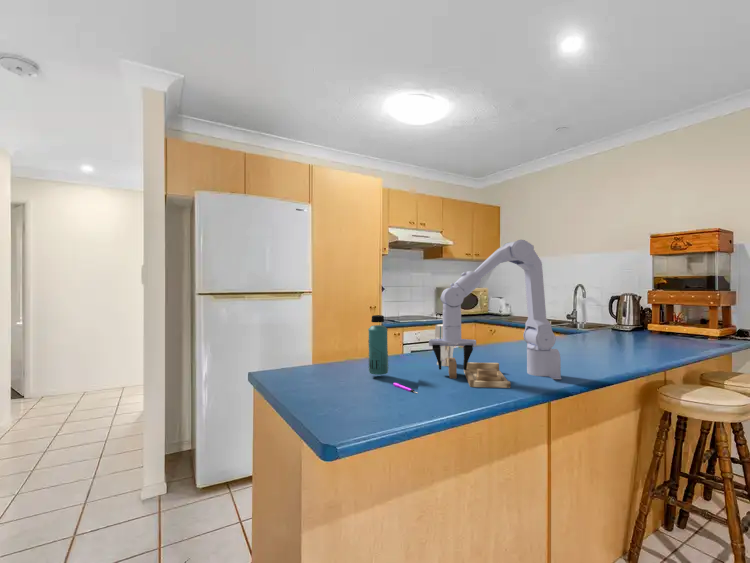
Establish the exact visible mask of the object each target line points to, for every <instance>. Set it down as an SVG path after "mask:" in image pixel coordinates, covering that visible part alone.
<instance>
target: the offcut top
mask: <svg viewBox="0 0 750 563" xmlns="http://www.w3.org/2000/svg"><path fill="white" fill-rule="evenodd" d="M477 376H478V377H497V370H496V369H477Z"/></svg>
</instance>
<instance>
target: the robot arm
mask: <svg viewBox="0 0 750 563" xmlns="http://www.w3.org/2000/svg"><path fill="white" fill-rule="evenodd" d="M508 262H510V263H511V264H516V265H517V266H518V267H520V268H521V269H522V270H523V271H524V284H525V296H526V310H527V319H526V321H525V323H524V324H525V327H524V332H523V339H524V341H525V343H526V344H527V345H526V373H527V374H528V375H530V376H533V377H534V376H535V377H550V378H551V379H552V380H562V377H561V375H562V374H561V373H562V370H561V368H562V367H561V354H560V351H559V350H558V349H557V348H553V347H554V345H555V344H556V335H555V333H554V332H553V329H552V324H551V323H550V321H549V320H548V318H547V311H546V298H545V297H546V296H545V287H544V286H545V285H544V284H545V283H544V274H543V262H542V260H541V258H540V256H538V253H537V252H536V250H535V247H534V245H533V244H532V243H531V242H528V241H527V240H526V239H518V240H517V239H516V240H515V241H509V242H507V243H504V244H503V245H502V246H500V247H498V248H497V249H496V250H495V251H494V252H493V253H491V254H490V255H489V256H488V257H487V258H486V259H485V260H484V261H483V262H482V263H481V264H480V265H479V266H478V267H476V269H475V270H474V271H473V270H467V271H464V272H462V273H461V274H460V277H459V278H458V279H457V280H456V281H455V282H454V283H453V282H451V283H450V284H449V286H450V287H447V288H445V289H444V290H443V291H442V292H441V295H440V301H441V303H442V324H443V339H435V338H432V339H431V338H429V339H428V346H429V347H432V350H433V353H434V356H435V357H436V361H438V365H437V366H438V370H442V366H441V349H440V346H454V347H463V363H462V364H463V366H462V367H463V371H464V370H466V369H467V363H468V362H469V360H470V358H471V355H472V353H473V351H474V347H475V348H476V347H477V340H476V339H469V338H468V339H467V338H462V309H461V308H462V306H461V305H462V304H463V302H464V300H465V298H467V297H468V295H470V294H471V293H472V292H474V291H475V290H476V289H477V288H478V287H479V286H480V285H481V284H482V283H481V282H482V281H481V280H482V278H484V277H485V276H486V275H488V274H489V273H490V272H491V271H492V270H493V269H495V268H497V267H498V266H499V265H500V264H502V263H508Z"/></svg>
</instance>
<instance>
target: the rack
mask: <svg viewBox="0 0 750 563" xmlns="http://www.w3.org/2000/svg"><path fill="white" fill-rule="evenodd" d="M477 369H496V370H497V375H499V376H500V377H501V381H476V375H477ZM463 373H464V375H465V378H466V380H467V383H468V385H469V388H493V389H494V388H496V389H498V388H500V389H512V388H511V381H509V380H508V379H507V378H506V376H505V375H504V374H503V372H501V370H500V363H499V362H471V361H470V362H469V361H468V363H467V369H466V370H464V369H463Z"/></svg>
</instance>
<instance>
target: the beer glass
mask: <svg viewBox="0 0 750 563" xmlns="http://www.w3.org/2000/svg"><path fill="white" fill-rule="evenodd" d="M434 329H435V330H434V339H443V323H438V324H435V328H434ZM454 348H455V346H440V349H441V367H449V361H448V358H454V356H453V354H454ZM436 361H437V360H436ZM436 366H439V365H438V361H437V362H436Z"/></svg>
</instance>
